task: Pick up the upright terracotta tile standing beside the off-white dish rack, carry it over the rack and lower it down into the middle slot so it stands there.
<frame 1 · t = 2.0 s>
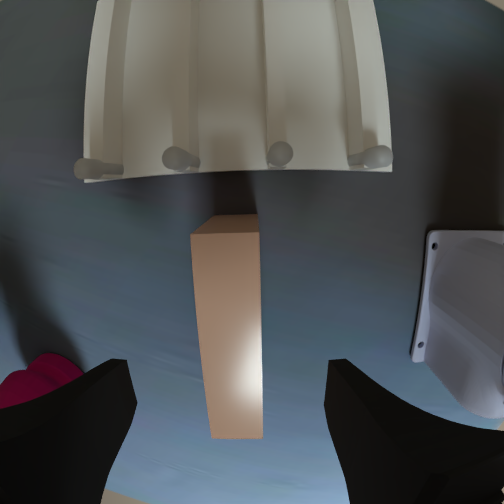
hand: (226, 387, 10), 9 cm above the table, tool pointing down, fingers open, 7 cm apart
dish rack: (231, 65, 16), on the table
tile: (239, 297, 19), on the table
pepper mill: (64, 383, 21), on the table
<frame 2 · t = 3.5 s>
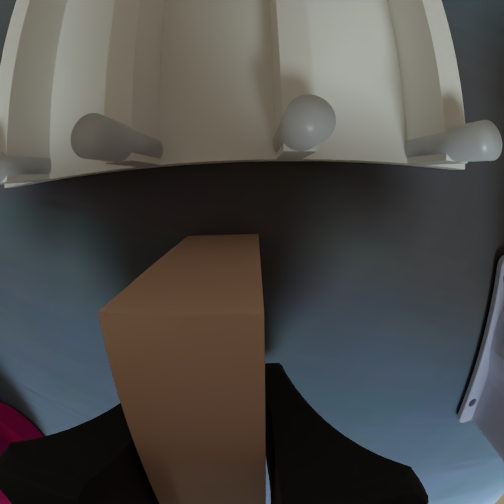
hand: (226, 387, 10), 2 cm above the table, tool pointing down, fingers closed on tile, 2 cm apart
dish rack: (218, 4, 9), on the table
tile: (229, 359, 12), on the table, touching gripper
pepper mill: (21, 434, 14), on the table
when the fingers open (4 cm above the table, at t = 7.5 s): tile stays where it is, resting on dish rack.
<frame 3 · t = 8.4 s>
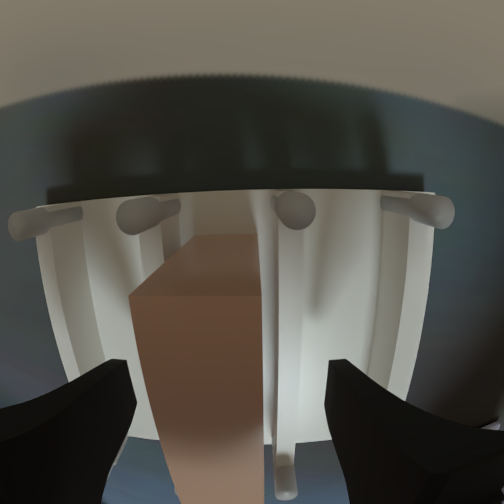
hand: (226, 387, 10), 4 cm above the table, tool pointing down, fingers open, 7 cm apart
dish rack: (233, 334, 14), on the table
tile: (231, 348, 14), point 1 cm above the table, touching dish rack
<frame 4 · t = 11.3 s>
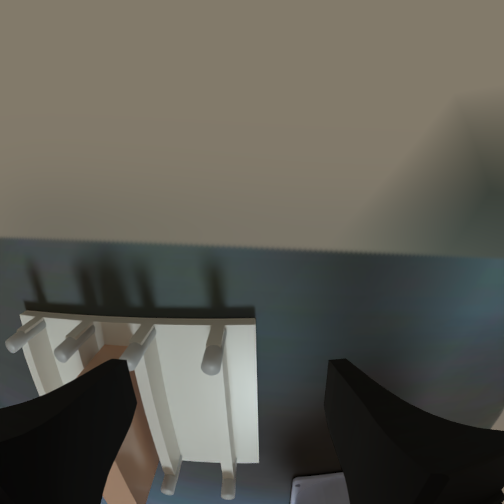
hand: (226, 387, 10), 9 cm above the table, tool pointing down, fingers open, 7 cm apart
dish rack: (138, 393, 21), on the table
tile: (134, 403, 20), point 1 cm above the table, touching dish rack
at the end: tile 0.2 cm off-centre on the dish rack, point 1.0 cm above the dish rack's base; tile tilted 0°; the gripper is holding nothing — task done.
